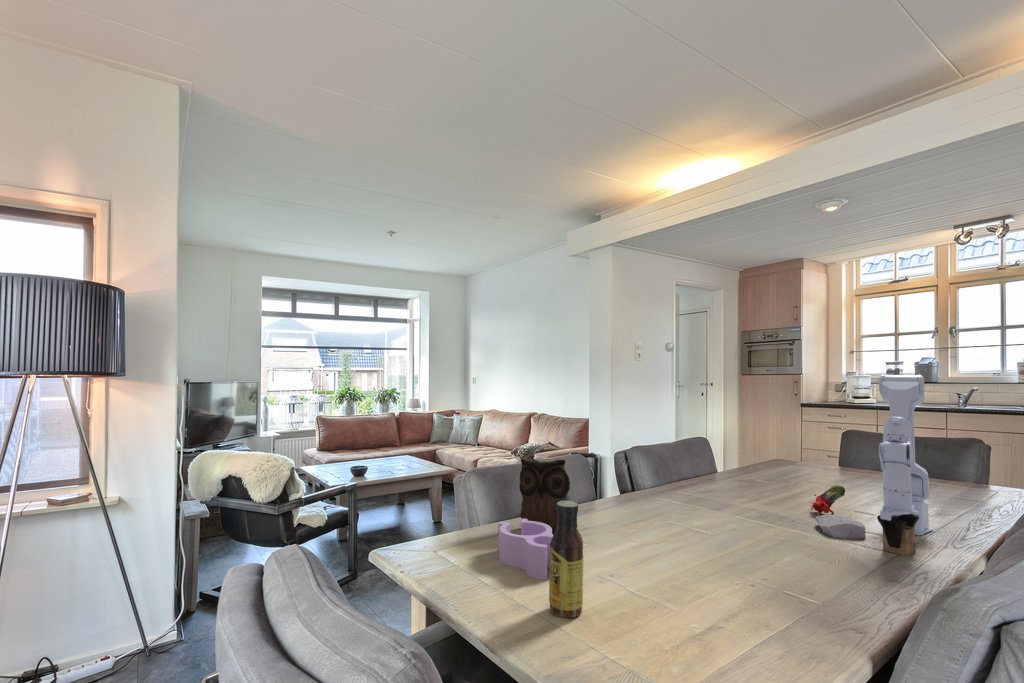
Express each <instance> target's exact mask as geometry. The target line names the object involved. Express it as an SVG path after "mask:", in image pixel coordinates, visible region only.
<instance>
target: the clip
mask: <svg viewBox="0 0 1024 683" xmlns="http://www.w3.org/2000/svg"><path fill="white" fill-rule="evenodd" d="M497 526H498V527H497V528H498V530H497V534H498V535H497V538H498V539H497V551H498V552H499V553H498V555H499V556H498V557H499V558H498V559H499V561H500V562H501V563H503V564H504V565H507V566H508V567H513V568H518V569H522V570H524V571H525V572H526V574H527V575H528V576H529V577H531V578H535V579H538V580H547V579H548V568H549V565H550V543H551V540H552V537H553V534H552V528H551V527H550V526H549V525H547V524H544V523H541V522H535V521H528V519H521V520H520V534H515V533H512V531H511V528H512V527H511V526H512V524H511V523H509V522H504V521H499V522H498V524H497Z"/></svg>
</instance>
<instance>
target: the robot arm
mask: <svg viewBox="0 0 1024 683" xmlns="http://www.w3.org/2000/svg"><path fill="white" fill-rule="evenodd" d="M878 391H879V394H880V397H881V398H882V400H883V402H884V403H887V404H889V417H888V418H887V419H885V420H884V422H883V433H882V442H880V443H879V445H878V457H879V462H880V470H881V471H882V494H883V495H882V496H883V498H882V499H883V505H882V507H881V510H880V511H879V515H877V521H878V522H879V523H880V526H881V527H882V528H883V529H882V531H883V530H884V532H885V535H886V539H887V542H888V545H889V546H890V547H894V548H900V545H901V538H902V532H903V529H904V526H905V525H906V526H910V527H915V536H922V535H924V534H926V533H929V532H931V531H933V530H934V528H932V527H930V525H929V521H930V519H929V507H928V506H929V505H928V504H927V502H926V501H925V500H928V499H929V498H930V493H931V492H930V479H929V473H928V471H927V470H926V469H925V468H924V467H922V466H921V465H919V464H918V463H917V462H916V449H915V448H916V444H915V442H916V441H915V440H916V439H915V416H914V415H915V409H916V407H917V406H918V405H919V406H920V405H922V404H924V401H925V379H924V376H923V375H922V374H918V375H917V374H904V375H903V374H881V375H880V376H879V378H878Z"/></svg>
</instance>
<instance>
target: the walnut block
mask: <svg viewBox="0 0 1024 683" xmlns="http://www.w3.org/2000/svg"><path fill="white" fill-rule="evenodd" d="M881 530H882V550H884V551H887V552H890V553H894V554H898V555H901V556H904V557H905V556H906V557H908V556H910V555H913V554H915V553H917V551H916V548H917V547H916V546H917V545H916V535H915V527H910V526H906V525H905V526H904V529H903V532H902V538H901V545H900V548H894V547H890V546H889V545H888V542H887V539H886V535H885V532H884V530H883V528H882V529H881Z"/></svg>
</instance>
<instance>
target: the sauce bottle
mask: <svg viewBox="0 0 1024 683" xmlns="http://www.w3.org/2000/svg"><path fill="white" fill-rule="evenodd" d="M556 511H557V526H556V529H555V532H554V535H553V537H552V540H551V543H550V565H549V567H548V569H549V573H548V574H549V576H548V577H549V580H548V581H549V583H548V584H549V586H548V587H549V588H548V591H549V593H548V595H549V596H548V601H549V610H550V611H551V612H552V614H553V615H555V616H556V617H558V618H565V619H569V618H570V619H571V618H576V617H579V616H581V614H582V612H583V605H584V559H585V558H584V540H583V537H582V535H581V533H580V532H579V530H578V526H579V525H578V512H579V504H578V502H575V501H573V500H570V501H560V502H558V503H557V504H556Z"/></svg>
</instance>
